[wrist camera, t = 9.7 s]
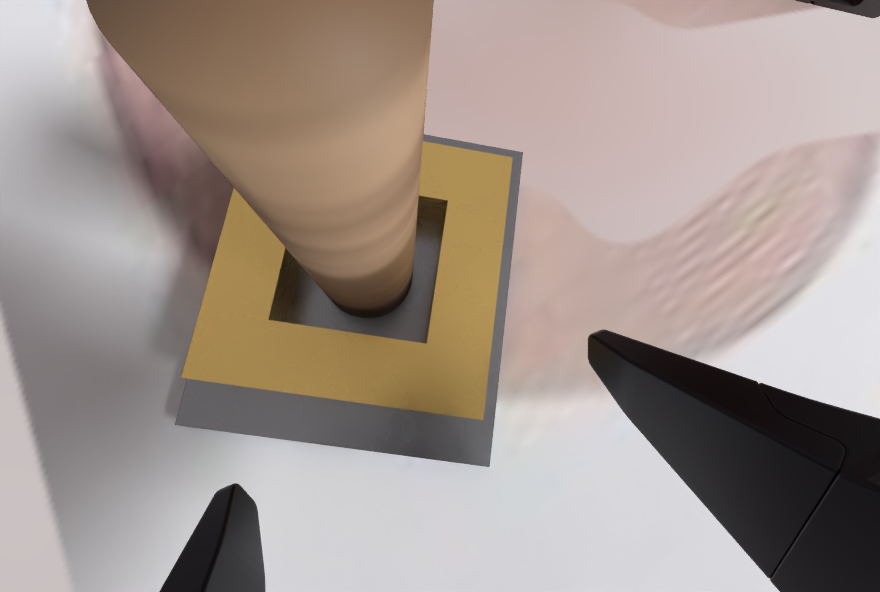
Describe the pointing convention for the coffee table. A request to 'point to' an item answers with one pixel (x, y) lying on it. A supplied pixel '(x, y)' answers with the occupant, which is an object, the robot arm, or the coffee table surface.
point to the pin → (300, 121)
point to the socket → (366, 327)
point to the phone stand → (851, 6)
